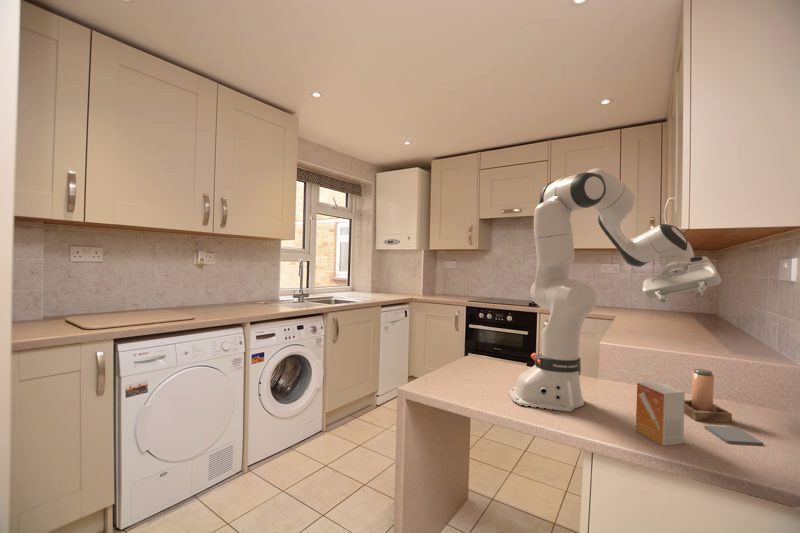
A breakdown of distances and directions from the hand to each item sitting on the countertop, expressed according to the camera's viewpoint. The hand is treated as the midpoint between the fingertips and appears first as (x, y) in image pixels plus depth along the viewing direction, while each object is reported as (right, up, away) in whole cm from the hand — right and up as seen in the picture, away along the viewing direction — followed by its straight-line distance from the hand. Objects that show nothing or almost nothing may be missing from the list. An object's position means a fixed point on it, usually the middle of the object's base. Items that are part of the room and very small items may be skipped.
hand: (680, 297), depth 112 cm
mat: (-1, -34, -18) cm, 39 cm away
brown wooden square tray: (+2, -34, -5) cm, 34 cm away
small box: (-20, -34, -19) cm, 44 cm away
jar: (+2, -34, -5) cm, 34 cm away
